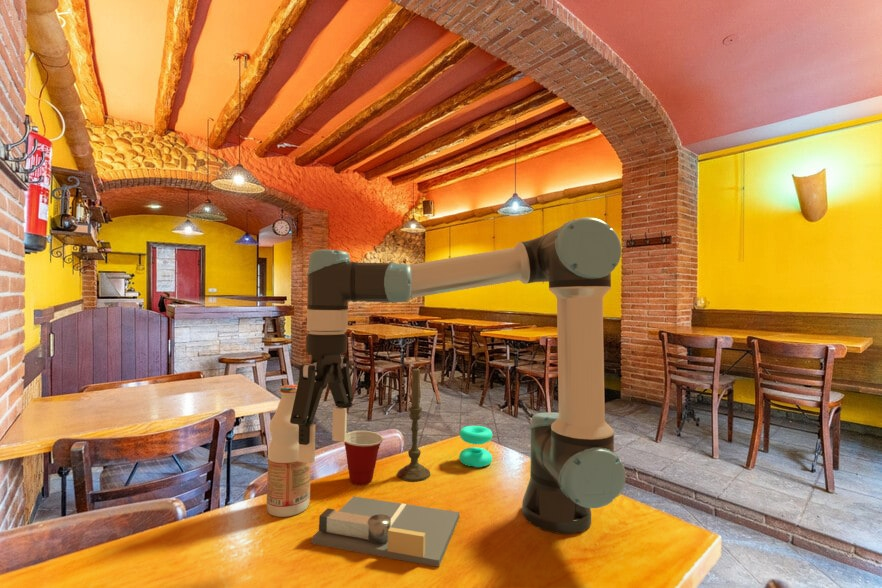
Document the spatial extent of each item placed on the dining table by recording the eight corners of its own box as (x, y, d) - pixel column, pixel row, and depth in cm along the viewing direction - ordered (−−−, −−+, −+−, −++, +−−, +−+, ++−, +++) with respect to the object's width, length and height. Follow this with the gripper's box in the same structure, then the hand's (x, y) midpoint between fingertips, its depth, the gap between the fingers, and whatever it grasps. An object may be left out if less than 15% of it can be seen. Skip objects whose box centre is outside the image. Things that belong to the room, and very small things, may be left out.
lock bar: (393, 532, 82) (393, 516, 82) (385, 544, 78) (385, 527, 78) (328, 521, 86) (329, 505, 86) (317, 532, 81) (317, 516, 81)
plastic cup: (373, 492, 103) (374, 444, 103) (334, 487, 105) (335, 440, 106) (387, 474, 114) (388, 431, 114) (351, 470, 116) (352, 428, 116)
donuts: (483, 423, 131) (498, 432, 121) (483, 454, 130) (497, 466, 121) (454, 425, 127) (467, 435, 118) (454, 458, 127) (466, 470, 118)
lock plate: (459, 517, 91) (459, 495, 92) (438, 567, 74) (439, 539, 74) (353, 501, 98) (354, 480, 98) (311, 543, 81) (312, 517, 81)
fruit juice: (261, 519, 89) (265, 390, 90) (271, 499, 98) (274, 382, 99) (306, 516, 91) (310, 390, 92) (312, 496, 100) (315, 382, 101)
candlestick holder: (394, 469, 117) (397, 365, 118) (425, 466, 120) (427, 364, 121) (401, 483, 108) (403, 370, 109) (434, 479, 111) (436, 369, 112)
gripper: (339, 328, 89) (337, 430, 88) (269, 336, 67) (265, 472, 66) (371, 329, 87) (368, 433, 87) (309, 337, 65) (306, 478, 64)
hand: (324, 450), depth 76 cm, fingers open, 11 cm apart
